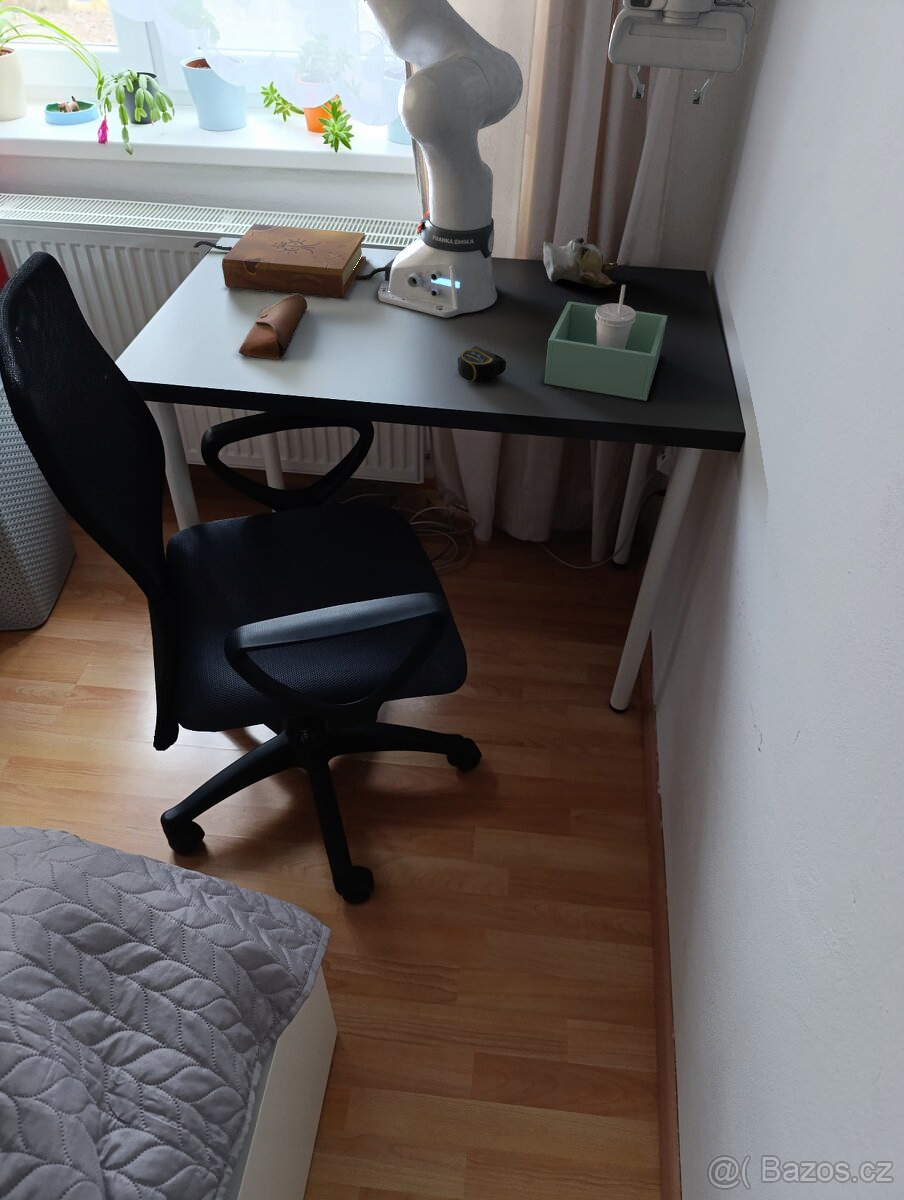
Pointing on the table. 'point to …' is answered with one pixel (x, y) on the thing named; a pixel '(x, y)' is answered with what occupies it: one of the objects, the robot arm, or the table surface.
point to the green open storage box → (603, 354)
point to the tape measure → (480, 365)
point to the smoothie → (614, 323)
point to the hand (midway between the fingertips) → (667, 100)
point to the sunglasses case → (275, 328)
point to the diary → (294, 261)
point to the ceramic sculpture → (577, 263)
